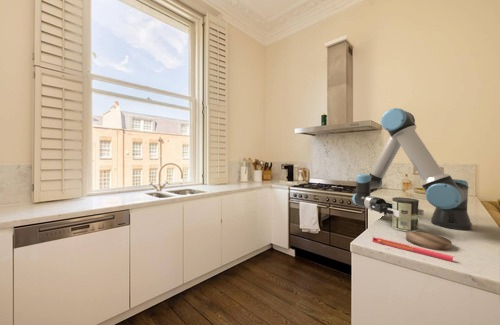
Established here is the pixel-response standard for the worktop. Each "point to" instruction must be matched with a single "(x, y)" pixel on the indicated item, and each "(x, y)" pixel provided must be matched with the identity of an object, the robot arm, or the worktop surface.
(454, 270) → the worktop surface
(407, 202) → the coffee can
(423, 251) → the chopstick
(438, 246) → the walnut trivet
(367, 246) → the worktop surface
